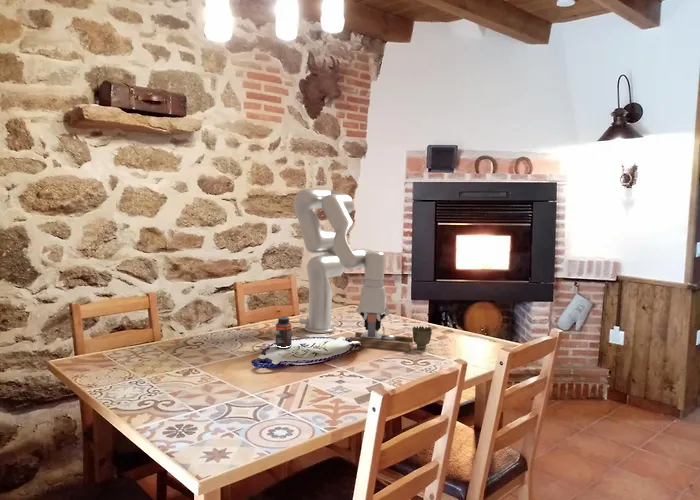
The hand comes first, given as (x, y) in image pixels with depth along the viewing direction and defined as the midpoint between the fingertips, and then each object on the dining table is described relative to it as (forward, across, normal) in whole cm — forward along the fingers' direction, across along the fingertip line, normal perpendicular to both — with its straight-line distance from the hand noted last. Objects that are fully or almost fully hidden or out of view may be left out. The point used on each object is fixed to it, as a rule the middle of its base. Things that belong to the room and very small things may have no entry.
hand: (372, 329), depth 218 cm
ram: (+4, +2, 0) cm, 5 cm away
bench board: (+6, +4, 0) cm, 7 cm away
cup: (+6, +19, 0) cm, 20 cm away
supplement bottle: (+6, -30, -16) cm, 35 cm away
